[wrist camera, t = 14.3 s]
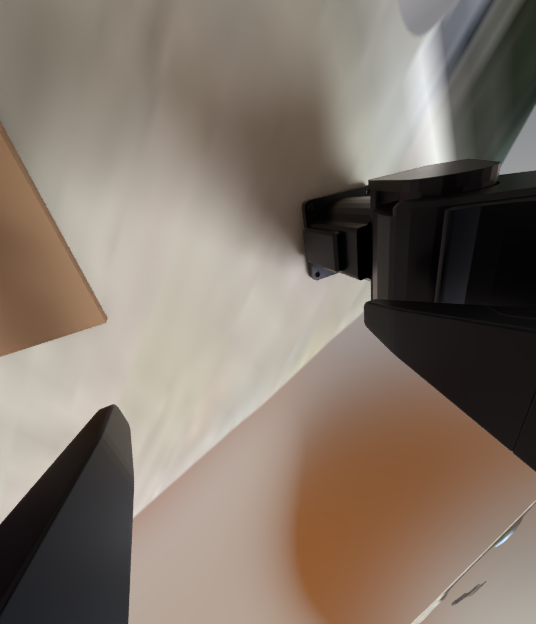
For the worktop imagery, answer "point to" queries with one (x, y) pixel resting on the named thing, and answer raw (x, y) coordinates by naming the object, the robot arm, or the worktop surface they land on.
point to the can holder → (36, 266)
